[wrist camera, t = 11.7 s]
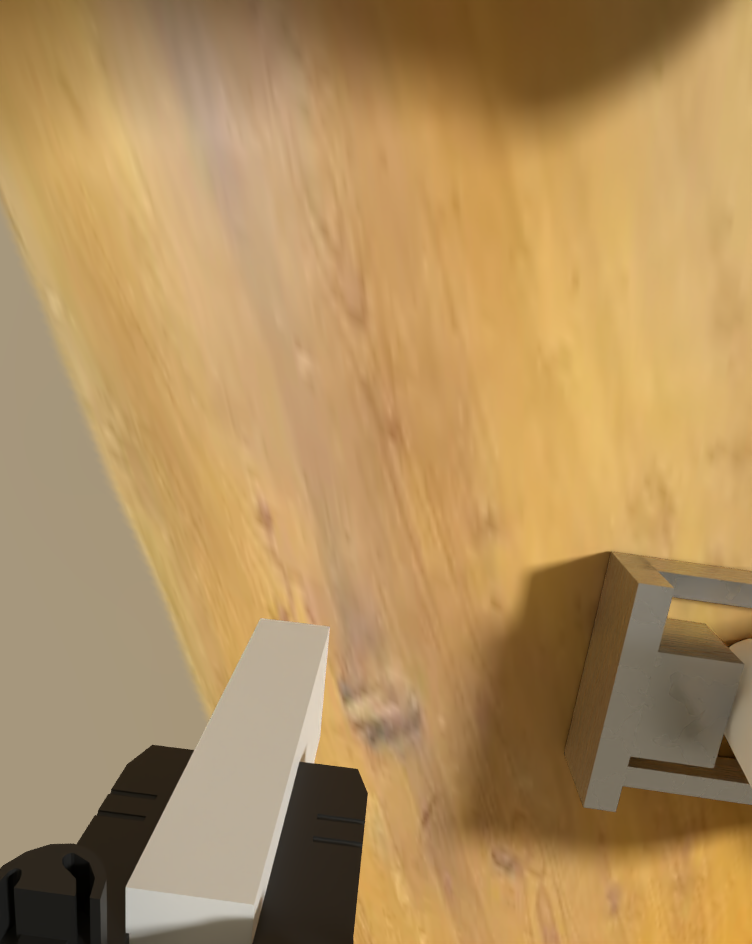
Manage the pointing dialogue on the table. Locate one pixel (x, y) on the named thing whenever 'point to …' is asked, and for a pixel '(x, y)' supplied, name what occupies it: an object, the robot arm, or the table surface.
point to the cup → (742, 711)
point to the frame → (657, 687)
